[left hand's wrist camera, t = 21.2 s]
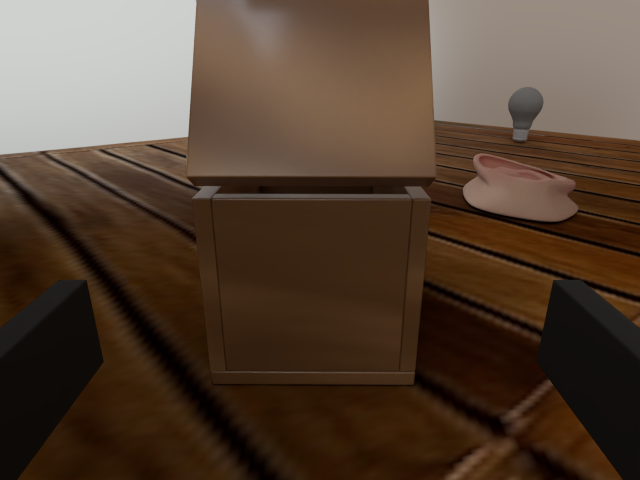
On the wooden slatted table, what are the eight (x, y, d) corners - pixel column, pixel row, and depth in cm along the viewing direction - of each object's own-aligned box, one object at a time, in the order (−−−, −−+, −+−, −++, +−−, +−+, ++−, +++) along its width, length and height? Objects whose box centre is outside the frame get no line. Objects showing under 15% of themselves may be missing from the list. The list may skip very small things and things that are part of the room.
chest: (255, 258, 34) (249, 140, 31) (377, 258, 34) (383, 140, 31) (211, 384, 21) (191, 198, 17) (414, 385, 21) (431, 198, 17)
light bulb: (508, 143, 84) (517, 87, 81) (499, 138, 90) (506, 86, 86) (541, 144, 84) (551, 88, 80) (529, 139, 90) (538, 86, 86)
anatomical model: (597, 184, 39) (460, 173, 43) (587, 227, 40) (456, 213, 44) (574, 157, 51) (468, 151, 54) (567, 191, 52) (465, 183, 56)
